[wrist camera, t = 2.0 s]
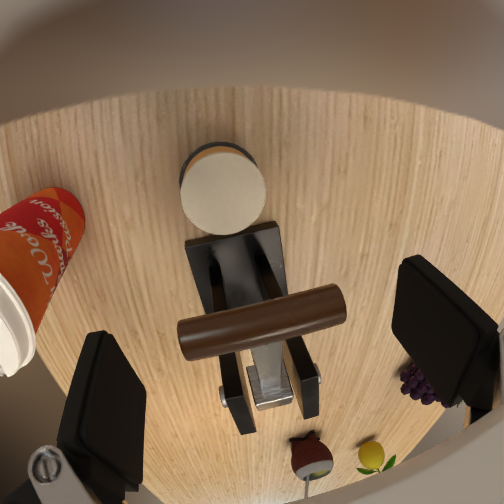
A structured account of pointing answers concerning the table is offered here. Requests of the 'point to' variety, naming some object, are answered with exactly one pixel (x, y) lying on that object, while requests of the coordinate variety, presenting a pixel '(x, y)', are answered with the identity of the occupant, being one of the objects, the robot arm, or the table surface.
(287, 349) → the lever base stand
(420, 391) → the fruit
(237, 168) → the cake
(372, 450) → the lemon
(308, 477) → the mate gourd
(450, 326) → the robot arm
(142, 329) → the table surface
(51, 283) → the coffee cup
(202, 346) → the lever
